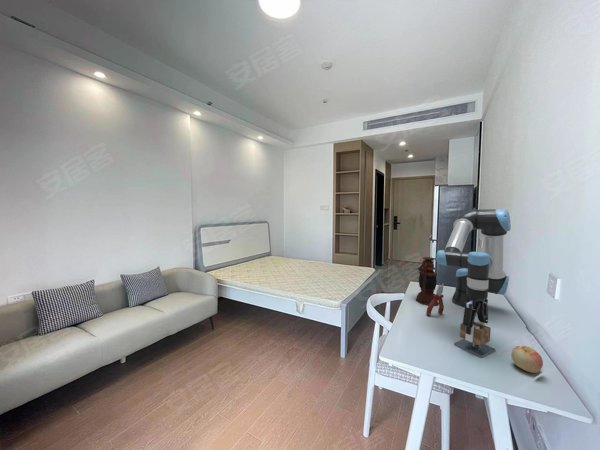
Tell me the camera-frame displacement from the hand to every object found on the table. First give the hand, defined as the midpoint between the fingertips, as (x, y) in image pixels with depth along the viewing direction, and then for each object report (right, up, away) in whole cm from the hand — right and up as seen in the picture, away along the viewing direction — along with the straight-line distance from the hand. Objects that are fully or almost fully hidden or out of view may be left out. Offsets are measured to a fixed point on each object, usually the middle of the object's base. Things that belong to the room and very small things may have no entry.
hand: (474, 338), depth 106 cm
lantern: (+7, -1, +53) cm, 53 cm away
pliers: (+1, -3, +33) cm, 33 cm away
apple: (+10, -5, -14) cm, 18 cm away
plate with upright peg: (0, -4, 0) cm, 4 cm away
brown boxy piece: (0, 0, 0) cm, 0 cm away
